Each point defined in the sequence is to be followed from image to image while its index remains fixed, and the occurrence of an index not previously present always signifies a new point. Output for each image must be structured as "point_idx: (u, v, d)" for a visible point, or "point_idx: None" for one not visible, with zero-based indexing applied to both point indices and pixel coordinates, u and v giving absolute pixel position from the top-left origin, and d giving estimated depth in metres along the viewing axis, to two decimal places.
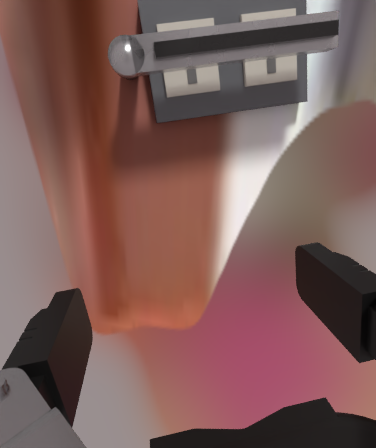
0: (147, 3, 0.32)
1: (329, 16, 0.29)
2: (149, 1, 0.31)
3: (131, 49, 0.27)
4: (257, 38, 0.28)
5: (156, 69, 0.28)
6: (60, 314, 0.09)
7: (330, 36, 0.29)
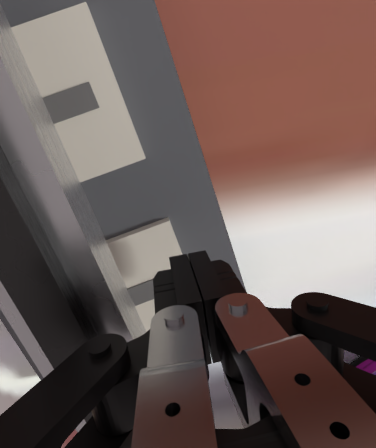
0: None
1: None
2: None
3: None
4: (43, 315, 0.08)
5: None
6: (186, 271, 0.10)
7: None
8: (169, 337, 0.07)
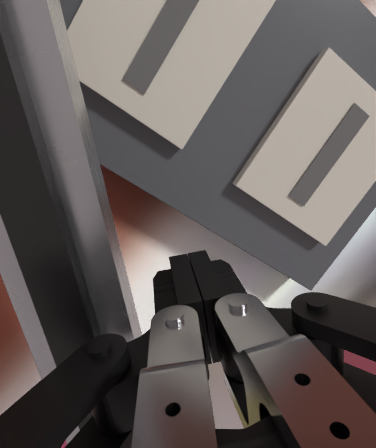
0: None
1: None
2: None
3: None
4: (54, 304, 0.08)
5: None
6: (186, 271, 0.10)
7: None
8: (169, 337, 0.07)
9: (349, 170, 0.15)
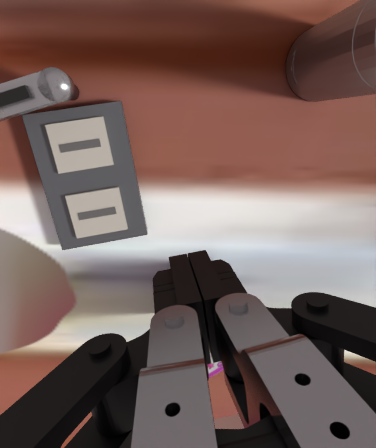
0: (118, 109, 0.39)
1: None
2: (120, 111, 0.39)
3: (50, 90, 0.32)
4: None
5: (24, 77, 0.31)
6: (186, 271, 0.10)
7: None
8: (169, 337, 0.07)
9: (100, 223, 0.42)
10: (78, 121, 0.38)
